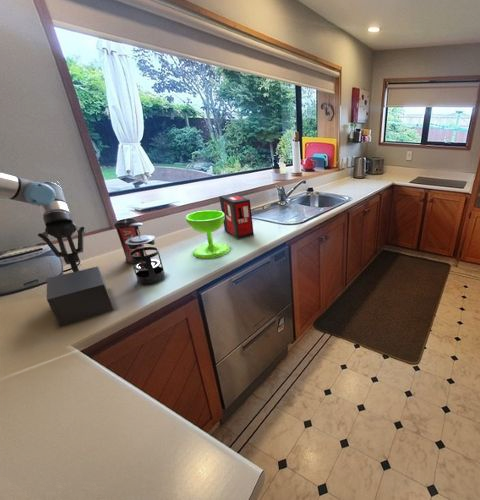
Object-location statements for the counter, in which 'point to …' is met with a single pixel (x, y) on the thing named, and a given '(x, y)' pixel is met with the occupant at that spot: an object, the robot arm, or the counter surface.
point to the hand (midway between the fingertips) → (75, 270)
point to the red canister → (127, 237)
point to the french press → (145, 259)
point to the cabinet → (78, 295)
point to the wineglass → (208, 232)
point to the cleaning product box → (237, 215)
